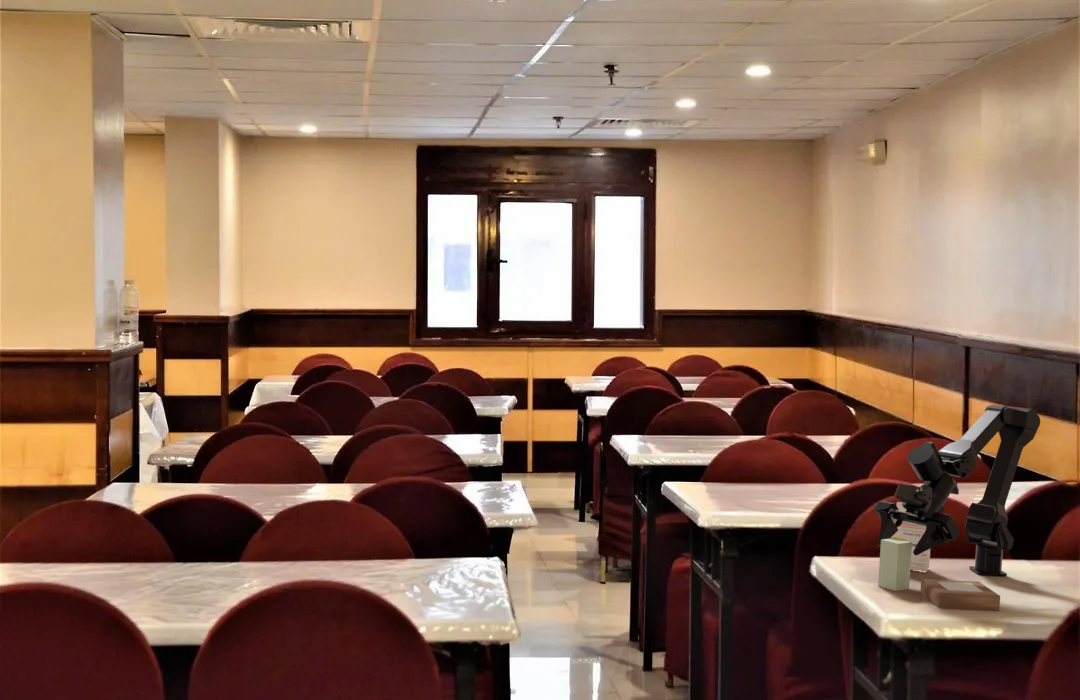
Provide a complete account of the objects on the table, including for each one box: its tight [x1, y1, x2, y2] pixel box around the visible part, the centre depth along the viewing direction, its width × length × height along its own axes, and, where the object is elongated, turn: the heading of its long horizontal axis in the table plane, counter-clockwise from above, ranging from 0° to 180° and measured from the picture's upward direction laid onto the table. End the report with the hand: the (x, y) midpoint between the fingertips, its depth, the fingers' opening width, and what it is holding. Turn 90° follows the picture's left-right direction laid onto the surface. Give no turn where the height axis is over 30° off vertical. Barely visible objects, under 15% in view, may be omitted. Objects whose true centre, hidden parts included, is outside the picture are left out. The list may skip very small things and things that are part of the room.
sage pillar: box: [877, 538, 912, 592], centre depth 257 cm, size 4×4×10 cm
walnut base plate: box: [920, 578, 1001, 612], centre depth 247 cm, size 12×12×3 cm
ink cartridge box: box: [890, 501, 931, 572], centre depth 276 cm, size 9×5×15 cm, turn 65°
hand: (896, 549), depth 257 cm, fingers open, 9 cm apart
